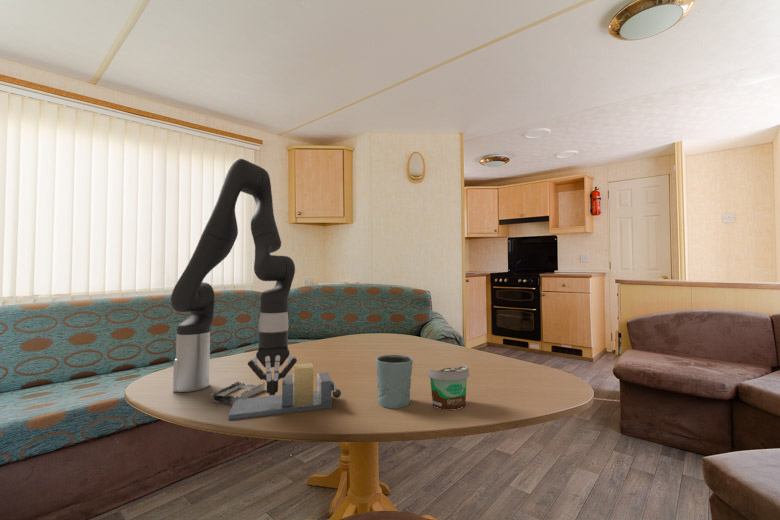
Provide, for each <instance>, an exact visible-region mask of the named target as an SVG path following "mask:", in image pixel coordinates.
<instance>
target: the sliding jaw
mask: <svg viewBox="0 0 780 520" xmlns="http://www.w3.org/2000/svg"><path fill="white" fill-rule="evenodd" d="M281 379H282V381H281V382H282V383H281V384H282V385H281V386H282V387H281V392H282V393H281V395H282V407H284V406H293V405H294V374H290V375H289V374H287V375H286V376H285V377H284V378H281Z"/></svg>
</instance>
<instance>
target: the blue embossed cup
mask: <svg viewBox="0 0 780 520" xmlns="http://www.w3.org/2000/svg"><path fill="white" fill-rule="evenodd" d="M375 362H376V363H375V366H376V374H377V378H376V380H377V381H376V382H377V389H378V391H377V398H378V400H377V401H378V405H379V406H381V407H383V408H386V409H391V410H392V409H403V408H406V407H407V406H409V404H410V400H411V399H410V398H411V391H410V390H411V386H412V385H411V383H412V372H413V371H412V370H413V362H414V361H413V357H411V356H407V355H403V354H386V355H385V354H384V355H380V356H377V357H376V358H375ZM405 406H406V407H405Z"/></svg>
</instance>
